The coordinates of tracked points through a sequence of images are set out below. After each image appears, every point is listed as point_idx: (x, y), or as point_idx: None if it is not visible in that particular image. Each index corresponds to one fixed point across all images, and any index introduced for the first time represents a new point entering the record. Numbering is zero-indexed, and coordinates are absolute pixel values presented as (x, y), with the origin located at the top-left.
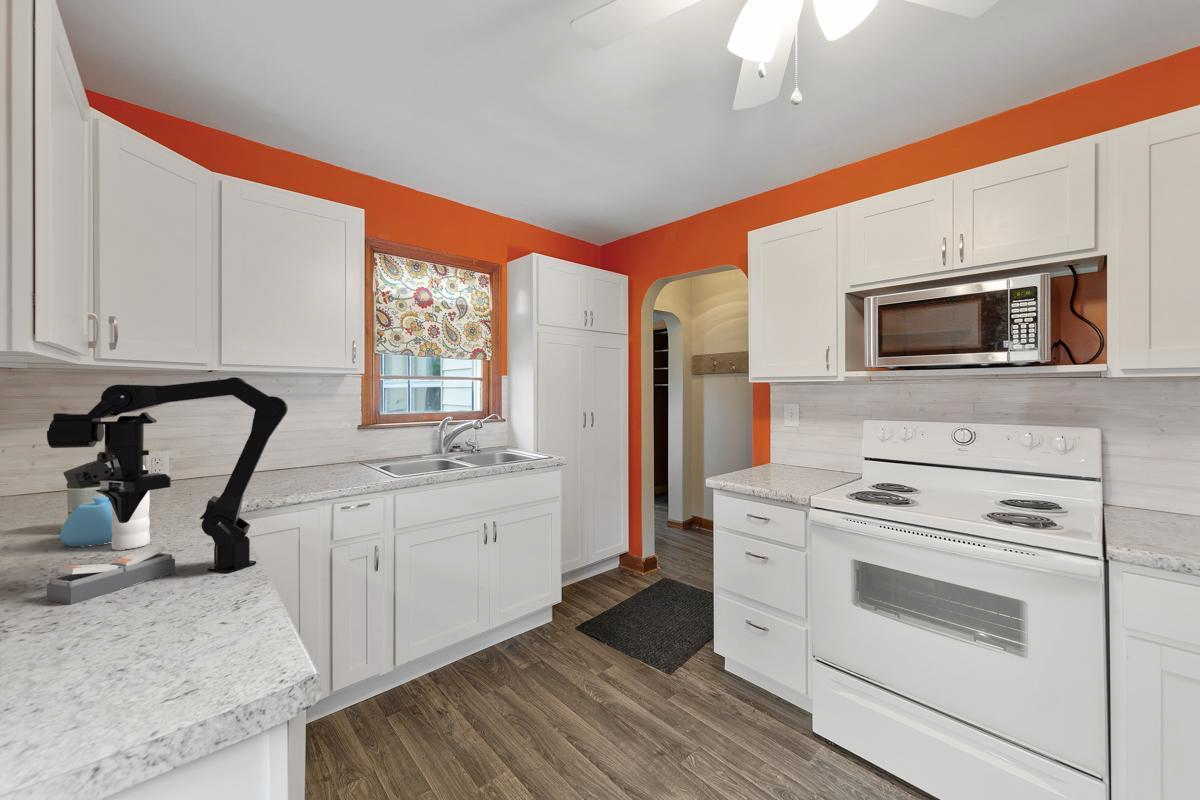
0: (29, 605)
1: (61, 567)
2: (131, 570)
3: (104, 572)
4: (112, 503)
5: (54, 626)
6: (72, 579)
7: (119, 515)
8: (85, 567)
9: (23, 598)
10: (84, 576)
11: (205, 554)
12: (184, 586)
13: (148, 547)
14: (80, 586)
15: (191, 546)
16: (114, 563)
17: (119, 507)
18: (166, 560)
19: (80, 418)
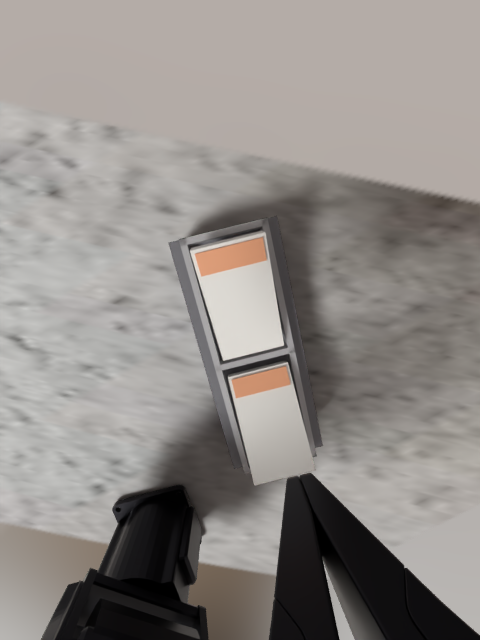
0: (259, 192)
1: (255, 234)
2: (212, 377)
3: (206, 324)
4: (429, 621)
5: (28, 185)
6: None
7: (305, 515)
8: (209, 285)
9: (335, 198)
10: None
11: None
12: (99, 422)
13: (292, 455)
14: (175, 264)
15: (433, 522)
16: (279, 363)
17: (300, 598)
18: (236, 452)
19: None
